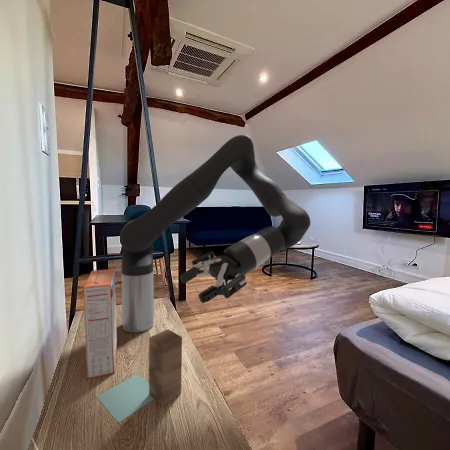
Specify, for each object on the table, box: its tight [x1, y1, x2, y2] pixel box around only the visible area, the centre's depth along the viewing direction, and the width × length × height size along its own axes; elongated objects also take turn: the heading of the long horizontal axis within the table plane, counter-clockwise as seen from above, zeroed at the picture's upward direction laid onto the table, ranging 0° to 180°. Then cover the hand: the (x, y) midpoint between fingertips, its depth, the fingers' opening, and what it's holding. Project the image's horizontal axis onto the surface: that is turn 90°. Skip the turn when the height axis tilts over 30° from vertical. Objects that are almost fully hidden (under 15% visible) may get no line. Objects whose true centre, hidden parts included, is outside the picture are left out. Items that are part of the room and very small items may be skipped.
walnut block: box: [148, 329, 183, 407], centre depth 51 cm, size 4×4×12 cm
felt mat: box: [96, 373, 155, 424], centre depth 51 cm, size 9×9×1 cm
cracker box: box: [82, 268, 118, 380], centre depth 62 cm, size 14×6×21 cm, turn 21°
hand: (190, 289), depth 55 cm, fingers open, 8 cm apart
